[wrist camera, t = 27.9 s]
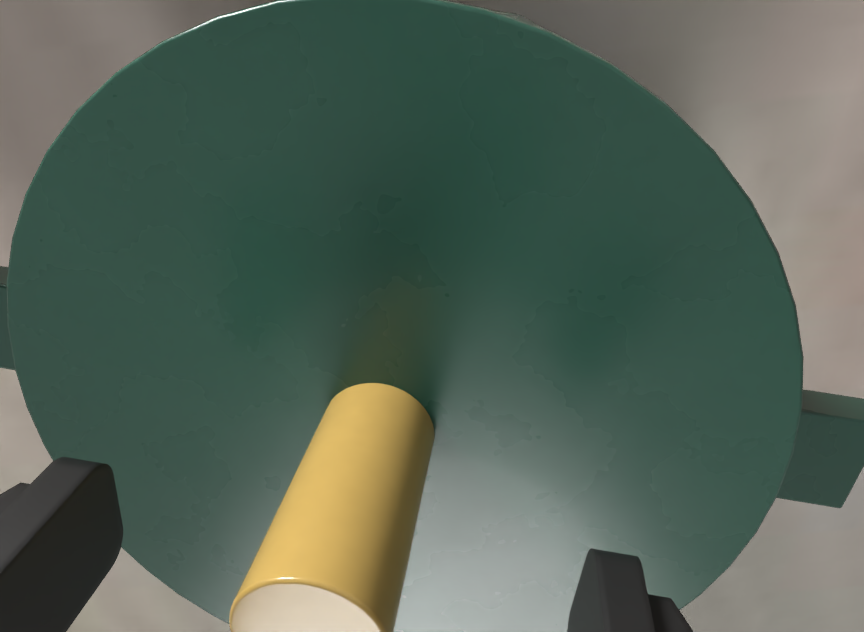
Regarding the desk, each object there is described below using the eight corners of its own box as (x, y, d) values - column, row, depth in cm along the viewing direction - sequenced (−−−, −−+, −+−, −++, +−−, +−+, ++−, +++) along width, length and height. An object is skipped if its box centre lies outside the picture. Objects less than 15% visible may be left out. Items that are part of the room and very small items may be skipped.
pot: (136, -32, 20) (-171, -46, 11) (827, 49, 19) (1096, 105, 10) (178, 382, 27) (11, 570, 19) (678, 465, 26) (754, 712, 17)
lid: (-34, -59, 11) (-548, -101, 6) (935, 54, 10) (1397, 132, 5) (97, 580, 19) (-75, 817, 14) (659, 688, 18) (716, 994, 13)
